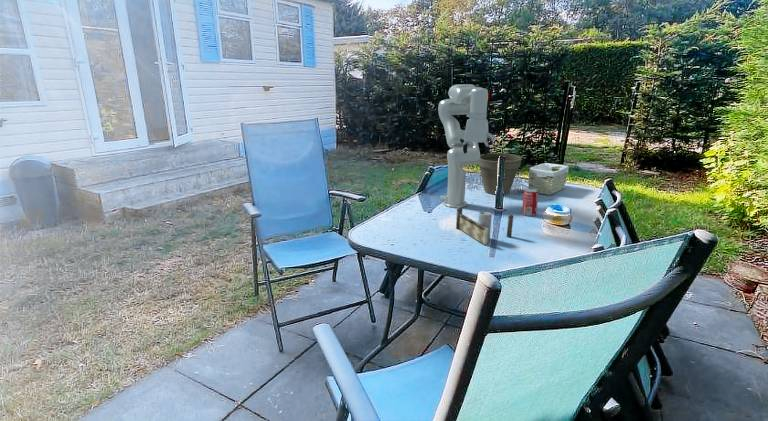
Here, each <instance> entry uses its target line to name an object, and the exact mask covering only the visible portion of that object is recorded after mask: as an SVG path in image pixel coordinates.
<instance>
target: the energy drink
mask: <svg viewBox="0 0 768 421" xmlns="http://www.w3.org/2000/svg"><path fill="white" fill-rule="evenodd" d="M477 223H479V224H481V225H482V226H484V227H486V228H488V236H487V242H488V241H490V239H491V230H492V228H491V227H492V212H490V211H484V210H483V211H479V214H478V222H477Z"/></svg>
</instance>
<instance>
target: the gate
mask: <svg viewBox="0 0 768 421" xmlns="http://www.w3.org/2000/svg"><path fill="white" fill-rule="evenodd" d="M458 230H461V232H464V233H465V234H467V235H469V237H472V238H474V239H475V240H476V241H478V242H480V243H481V244H483V245H487V244H488V241H487V236H488V228H486V227H484V226H482V225H481V224H479V223H478V222H477V221H475V220H474V219H471V218H469V217H468V216H466V215H464V214H463V213H462V214H461V215H460V228H459V229H458Z"/></svg>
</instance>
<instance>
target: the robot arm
mask: <svg viewBox="0 0 768 421" xmlns="http://www.w3.org/2000/svg"><path fill="white" fill-rule="evenodd" d="M447 94H448V96H449V98H446V99H443V100H440V101H439V103H438V108H437V111H438V112H437V113H438V117H439V119H440V121H441V123H442V125H443V128H444V133H445V139H446V144H447V145H448V147H449V148H450V149H449V150H447V154H446V158H447V190H446V191H447V192H446V193H447V194H446V195H444V194H443V195H439V198H440V200H443V204H444V206H446V207H448V208H454V209H457V208H458V207H461V208H465V207H467V206H468V201H465V200H466V199H465V195H466V179H467V178H466V177H467V173H466V171H465V170H464V168H463V166H474V165H478V163H479V162H480V155H481V152H480V147H479V143H484V145H485V146H484V153H483V154H484V155H487V154H488V153H489V150H490V146H491V145H492V144H493V143H494V142H495V141H496V139H497V137H496V136H495V135H493V134H492V133H490V132H489V121H488V119H487V114H488V113H487V112H488V109H487V108H488V99H489V98H488V95H489V91H488V89H487V88H485V87H484V88H483V87H479V86H478V87H476V85H474V84H467V83H466V84H465V83H463V84H453V85H452V86H451V87H450V88H449V90H448V93H447ZM458 115H459V116H460V115H462V116H463V115H466V116H465V117H468V118H469V119H467V120H466V123H465V124H466V125H465V129H464V130H463V129H461V126H460V125H461V124H460V122H459V121H458V119H457V118H455V117H454V116H458ZM489 138H490V140H489V141H488V139H489Z"/></svg>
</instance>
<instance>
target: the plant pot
mask: <svg viewBox="0 0 768 421" xmlns="http://www.w3.org/2000/svg"><path fill="white" fill-rule="evenodd" d="M500 155H504V156H505V178H504V195H508V194H509V193H510V191H511V189H512V186H513V184H514V181H515V179H516V175H517V174H518V173H517V172H518V170H519V168H520V167H521V165H522V164H521V162H522V157H521V156H520V155H516V154H512V153H504V152H503V153H502V152H491V153H487V155H484V153H483V154H480V162H479V163H478V164H477V166H479V170H480V175H481V180H482V185H483V190H484V192H485V193H486V194H489V195H494V194H495V191H496V186H497V163H498V162H497V161H498V158H499V156H500ZM504 195H503V196H504ZM494 196H495V195H494Z"/></svg>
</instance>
